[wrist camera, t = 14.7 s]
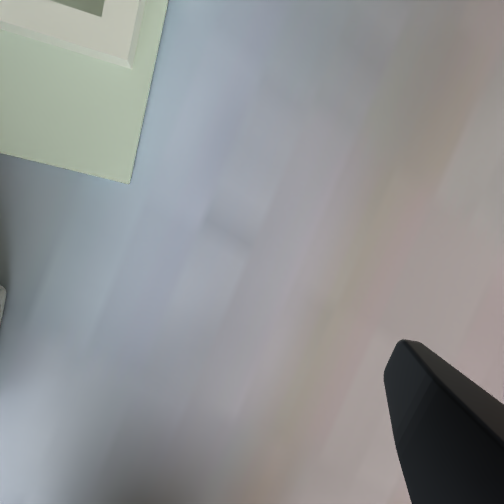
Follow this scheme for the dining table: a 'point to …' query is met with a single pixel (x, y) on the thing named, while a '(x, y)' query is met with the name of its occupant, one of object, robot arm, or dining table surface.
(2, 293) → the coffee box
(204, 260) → the dining table surface
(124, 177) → the collar holder
